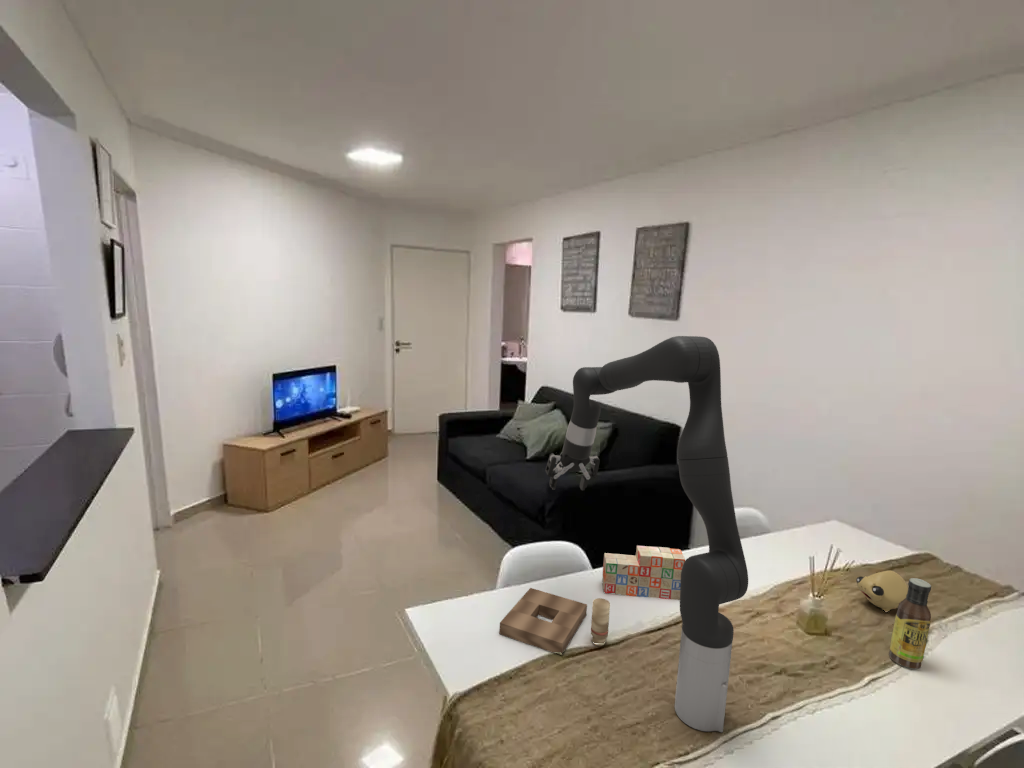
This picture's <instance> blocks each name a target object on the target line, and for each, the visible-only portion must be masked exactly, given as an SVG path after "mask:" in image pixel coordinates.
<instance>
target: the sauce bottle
mask: <svg viewBox="0 0 1024 768" xmlns="http://www.w3.org/2000/svg"><path fill="white" fill-rule="evenodd" d="M907 586H908V592H907V595H906V598H905V599H904V600H903V601H901V602H900V603H899V605H898V608H897V611H896V613H895V619H894V622H893V628H892V633H891V637H890V638H891V639H890V644H889V652H888V655H889V657H890V659H891V660H892V661H893V662H894V663H895V664H896V663H897V664H898V665H900V666H902V667H904V668H907V669H911V670H915V669H920V668H922V667H921V666H922V662H923V661H924V657H925V656H924V655H925V651H926V646H927V641H928V637H929V631H930V627H931V618H932V614H931V611H930V609H929V607H928V599H929V594H930V593H931V590H932V585H931V584H930V583H929V582H927V580H923V579H920V578H917V577H916V578H914V577H911V578H909V579H908V583H907Z"/></svg>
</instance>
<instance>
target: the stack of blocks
mask: <svg viewBox="0 0 1024 768" xmlns="http://www.w3.org/2000/svg"><path fill="white" fill-rule="evenodd" d="M635 549H636V552H635V555H632V554H622V553H621V554H620V553H609V552H607V553H606V552H604V554H603V565H602V577H601V578H602V580H601V582H603V583H602V588H603V589H604V590H603V589H602V590H603V593H604V592H605V593H604V594H609V593H615V594H614V595H617V594H621V595H620V596H628V595H629V597H639V598H641V597H644V598H653V599H654V598H655V599H664V600H673V601H680V581H681V571H682V567H683V564H684V562H685V561H686V558H685V555H684V554H683V551H682V550H681V549H679V548H670V547H666V546H665V547H664V546H663V547H662V546H650V545H649V546H647V545H646V546H645V545H636V548H635Z"/></svg>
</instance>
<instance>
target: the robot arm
mask: <svg viewBox="0 0 1024 768" xmlns="http://www.w3.org/2000/svg"><path fill="white" fill-rule="evenodd" d="M719 354H720V353H719V351H718V347H717V345H716V344H715V342H713V340H712V339H710V338H709V337H705V336H699V335H698V336H697V335H695V336H693V335H692V336H691V335H689V336H687V335H676V336H675V335H674V336H671V337H669V338H666V339H664V340H663V341H661V342H659V343H657V344H655V345H654V346H652V347H650V348H649V349H646V350H645V351H642V352H640V353H638V354H635V355H632V356H628V357H624V358H620V359H617V360H613V361H610V362H608V363H605V364H604V365H603V366H596V367H595V366H593V367H592V366H588V367H587V366H586V367H585V366H584V367H580V368H578V369H577V371H575V373H574V376H573V378H572V390H573V391H572V393H573V408H572V413H571V417H570V421H569V423H568V426H567V429H566V432H565V437H564V441H563V446H562V452H561V453H560V455H559V454H557V455H555V454H554V453H553V452H552V453H550V454H549V455H548V456H549V457H548V460H547V463H546V466H545V474H546V475H547V476H548V478H549V477H550V479H549V482H548V483H549V487H550V488H551V490H553V491H554V490H556V488H557V483H558V480H559V479H558V478H560V476H562V475H564V474H566V473H567V472H569V473H571V472H576V473H579V472H580V471H581V472H582V475H581V477H580V482H579V488H580V491H585V490H586V488H587V487H588V484H589V480H590V479H591V478H593V479H596V478H597V477H598V472H599V468H600V462H601V460H600V458H599V457H598V455H597V454H593V455H592V454H591V453H592V450H593V446H594V442H595V439H596V434H597V428H598V423H599V419H600V415H601V412H602V411H601V405H600V404H599V402H598V401H596V400H593V399H590V397H591V396H596V395H597V396H601V395H609V394H613V393H616V392H617V391H623V390H628V389H632V388H635V387H638V386H640V385H641V384H643V383H644V382H650V381H662V382H673V383H678V384H680V383H681V384H683V383H687V384H688V392H689V411H688V415H687V419H686V421H685V424H684V427H683V428H682V432H681V435H680V438H679V440H678V445H677V449H676V453H677V454H676V455H677V463H678V464H677V465H678V466H677V467H678V471H679V472H678V473H679V479H680V484H681V486H682V490H683V491H684V493H685V495H686V496H687V498H688V499H689V500H690V502H691V504H692V505H693V506H694V508H695V510H696V511H697V512H698V514H699V515H700V517H701V519H702V520H703V523H704V526H705V530H706V535H707V541H708V542H707V543H708V552H704V553H698V554H694V555H690V556H689V557H686V558H685V562H684V564H683V567H682V571H681V581H680V600H679V613H680V617H681V632H680V633H681V634H680V643H679V655H678V665H677V667H678V668H677V677H676V687H675V688H676V689H675V695H674V697H675V698H674V712H675V713H676V715H677V717H678V718H679V719H680V720H681V721H682V722H683V723H684V724H685V725H687V726H689V727H690V728H692V729H694V730H698V731H701V732H719V733H723V732H724V725H725V717H726V716H725V714H726V708H727V707H726V706H727V696H728V687H729V678H730V668H731V659H732V650H733V649H732V648H733V641H734V631H735V629H734V625H733V623H732V621H731V620H730V619H729V618H728V617H727V616H725V615H724V614H722V613H721V612H719V610H720V609H719V608H720V605H722V604H726V603H730V602H733V601H736V600H739V599H741V598H743V597H744V596H745V594H747V591H748V587H749V572H748V566H747V562H746V557H745V554H744V549H743V545H742V541H741V536H740V533H739V527H738V523H737V517H736V511H735V503H734V499H733V491H732V483H731V482H732V481H731V473H730V465H729V464H730V463H729V457H728V451H727V444H726V438H725V429H724V417H723V409H722V386H721V385H722V383H721V382H722V381H721V376H722V375H721V359H720V355H719ZM591 455H592V456H591ZM589 463H590V468H589V470H588V471H587V469H586V467H587V466H588V464H589Z"/></svg>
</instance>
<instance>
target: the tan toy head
mask: <svg viewBox="0 0 1024 768" xmlns="http://www.w3.org/2000/svg"><path fill="white" fill-rule="evenodd" d="M855 580H856V581H855V582H856V586H857V588H858V590H859V591H860V592H861V593H863V595H864V596H865V597H866V599H867V601H868V600H869V601H868V602H870V603H871V604H872V605H874V606H875V607H878V608H880V609H881V610H882V611H883V610H885V611H889V612H890V610H893V609H898V605H899V603H900V602H901V601H903V600H904V599H905V598H906V595H907V592H908V588H909V586H908V583H907V582H906V580H905V578H903V577H902V576H901V575H900V574H899V573H897V572H896V571H894V570H883V571H879V572H876V573H872V574H870V575H868V576H866V575H865V576H858V577H857V578H856V579H855Z"/></svg>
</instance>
